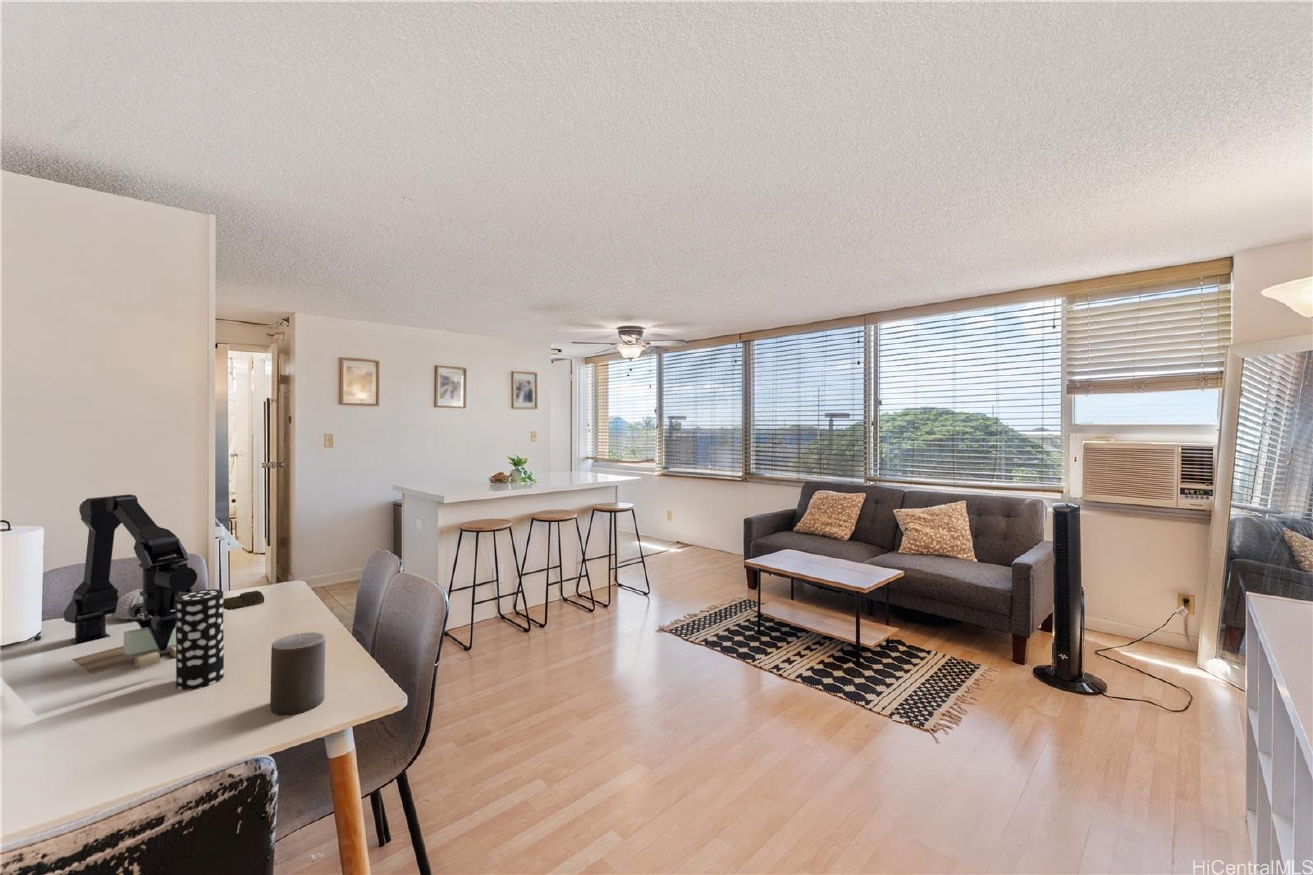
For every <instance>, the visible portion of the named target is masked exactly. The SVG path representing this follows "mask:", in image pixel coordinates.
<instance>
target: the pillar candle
mask: <svg viewBox="0 0 1313 875" xmlns="http://www.w3.org/2000/svg"><path fill="white" fill-rule="evenodd" d="M270 651H271V652H270V653H271V657H270V658H271V659H270V692H269V694H270V696H269V697H270V700H269V704H270V705H269V709H270V712H271V713H273V714H274V715H278V716H292V715H297V714H300V713H304V712H308V711H310V710H312V709H314V708H317V707H318V706H320V705H321V704H322V703H323V702H324V701H325V692H326V691H325V690H326V688H325V686H326V684H325V682H326V681H325V680H326V678H325V676H326V634H325V633H323V632H321V633H320V632H315V631H311V632H310V631H309V632H299V633H290V634H289V635H286V636H283V637H280V638H278V639H275V640H274V641H273V642H272V643H271V650H270Z"/></svg>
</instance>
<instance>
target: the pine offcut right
mask: <svg viewBox="0 0 1313 875" xmlns="http://www.w3.org/2000/svg"><path fill="white" fill-rule="evenodd" d="M169 653H170V656H172V657H173V658H175V659H176V646H173V647H170V652H169Z"/></svg>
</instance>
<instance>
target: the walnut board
mask: <svg viewBox="0 0 1313 875" xmlns="http://www.w3.org/2000/svg"><path fill="white" fill-rule="evenodd" d="M123 646H124V645H122V646H118V647H114V648H110V649H107V650H103V651H99V652H95V653H90V654H87V655H82V656H79V657H75V658H72V661H74V662H75V663H77V664H78V665H79V666H81V667H82V668H83V669H84V670H86V671H87V672H88V673H89V674H90V675H93V674H96V673H99V672H103V671H107V670H110V669H111V670H112V669H115V668H118V667H120V666H123V665H128V664H132V663H135V656H131V657H128V656H124V655H123ZM154 652H157V653H159V654H160V655H161V656H162V655H163V654H167V653H170V648H167V649H166V650H163V651H160V650H158V651H154ZM144 654H145V653H144ZM140 655H142V654H140ZM136 656H138V655H136Z"/></svg>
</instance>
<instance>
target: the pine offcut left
mask: <svg viewBox="0 0 1313 875" xmlns="http://www.w3.org/2000/svg"><path fill="white" fill-rule="evenodd" d="M160 660H161V659H160V654H159V653H157V652H154V651H153V652H149V653H145V654H142V655H138V656H135V662H134V666H136V667H137V668H139V669H143V668H146V667H150V666H154V665H157V664H160V662H161V661H160Z"/></svg>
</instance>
